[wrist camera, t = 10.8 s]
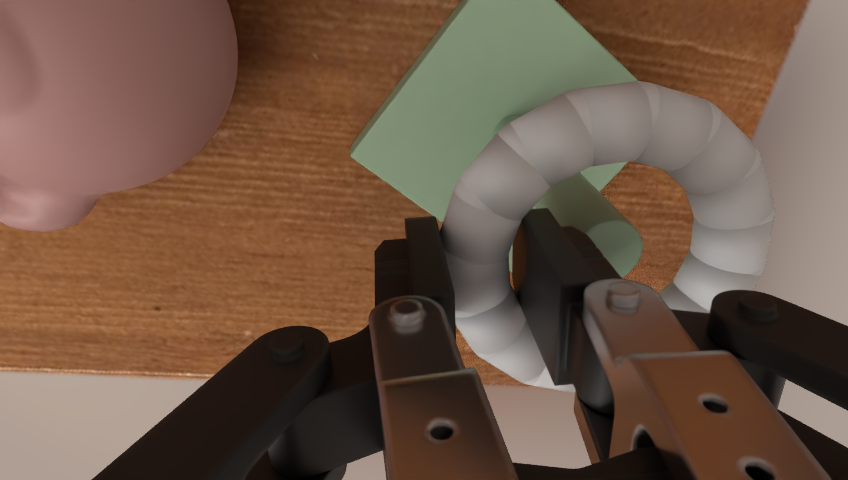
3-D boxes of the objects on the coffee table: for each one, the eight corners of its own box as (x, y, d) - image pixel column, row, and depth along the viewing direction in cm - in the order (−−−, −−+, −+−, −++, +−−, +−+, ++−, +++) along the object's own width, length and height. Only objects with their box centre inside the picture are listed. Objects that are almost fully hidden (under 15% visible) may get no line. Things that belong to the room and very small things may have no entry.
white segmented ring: (595, -2, 11) (628, 4, 10) (805, 207, 14) (856, 235, 12) (371, 268, 14) (371, 304, 12) (587, 406, 16) (608, 449, 15)
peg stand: (497, -48, 20) (623, -61, 10) (657, 106, 23) (880, 217, 13) (350, 145, 23) (331, 290, 13) (511, 261, 26) (600, 455, 16)
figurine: (-53, 112, 21) (-488, 262, 11) (56, -182, 18) (-432, -408, 7) (172, 228, 24) (9, 442, 13) (305, -6, 21) (229, 26, 10)
